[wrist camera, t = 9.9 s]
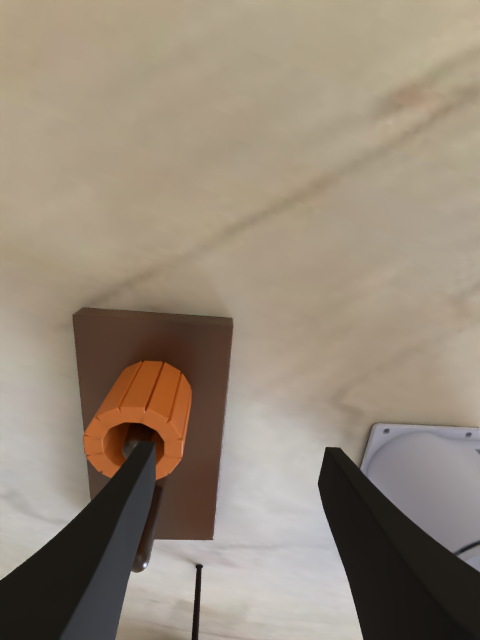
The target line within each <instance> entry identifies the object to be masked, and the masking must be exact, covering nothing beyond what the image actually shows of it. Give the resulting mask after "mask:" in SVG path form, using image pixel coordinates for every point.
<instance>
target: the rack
mask: <svg viewBox="0 0 480 640" xmlns="http://www.w3.org/2000/svg"><path fill="white" fill-rule="evenodd" d="M72 316H73V326H74V336H75V346H76V356H77V366H78V376H79V386H80V396H81V406H82V416H83V426H84V432H85V430H86V429H87V427H88V426H89V424H90V422H91V421H92V419H93V417H94V416H95V414H96V413H97V411H98V409H99V408H100V406H101V404H102V403H103V401H104V400H105V398H106V396H107V395H108V393H109V392H110V390H111V388H112V387H113V385H114V383H115V382H116V380H117V379H118V377H119V376H120V374H121V373H122V371H123V370H125V368H127V367H129V366H131V365H133V364H136V363H138V362H140V361H142V362H144V361H161V362H163V364H164V363H165V362H166V363H167V364H169V365H171V366H173V367H175V368H176V369H178V370H180V371H181V373H180V374H182V373H183V375H184V376H185V378H186V380H187V381H188V383H189V384H190V386H191V388H190V389H192V396H191V407H190V413H189V419H188V425H187V432H186V438H185V444H184V450H183V456H182V458H181V461H180V462H179V463H178V464H177V466H176V467H175V468H174V469H173V471H172V472H171V473H170V474H169V473H168V474H167V476H165V477H162V478H160V479H157V480H156V482H155V487H154V492H153V497H152V502H151V506H150V510H149V513H148V516H147V520H146V523H145V526H144V529H143V533H142V536H141V539H140V542H139V546H138V549H137V552H136V555H135V559H134V562H133V565H132V568H131V571H132V572H135V573H138V572H141V571H143V570H144V569H145V568H146V567H147V565H148V563H149V560H150V556H151V551H152V546H153V541H154V539H166V540H214V531H215V520H216V509H217V498H218V487H219V477H220V466H221V455H222V444H223V433H224V422H225V411H226V400H227V389H228V378H229V367H230V357H231V346H232V335H233V319H232V318H225V317H210V316H196V315H182V314H168V313H153V312H139V311H125V310H111V309H97V308H81V309H80V310H78V311H77V312H76V313H74V314H73V315H72ZM153 433H154V429H152V428H150V427H148V426H146V425H144V424H142V423H132V422H131V425H130V427H129V429H128V432H127V434H126V436H125V439H124V441H123V443H122V448H121V449H122V454H123V456H124V457H125V458H126V459H127V458H128V456H129V455H130V454H131V452H132V451H133V449H134V448H135V446H136V445H137V444H138V443H139V442H140V441H151V439H152V436H153ZM86 456H87V455H86ZM87 466H88V476H89V486H90V496H91V501H92V500H93V499H94V497H95V496H96V495H97V494H98V493H99V492H100V491H101V490H102V489H103V487H104V486H105V485H106V484H107V483H108V482H109V480H110V479H111V478H110V477H108V476H106V475H103V474H102V471H100V472H98V471H97V469H96V468H95V467H94V466H93V465H92V464H91V462H90V461H89V460H88V459H87Z"/></svg>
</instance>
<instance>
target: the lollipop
mask: <svg viewBox="0 0 480 640" xmlns="http://www.w3.org/2000/svg"><path fill="white" fill-rule="evenodd" d="M196 568H197V573H196V586H195V600H194V614H193V628H192V640H198V632H199V613H200V592H201V570H202V568H203V566H202V565H197V566H196Z"/></svg>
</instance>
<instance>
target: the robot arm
mask: <svg viewBox="0 0 480 640" xmlns="http://www.w3.org/2000/svg"><path fill="white" fill-rule="evenodd" d="M385 429H386V430H385ZM384 430H385V431H384ZM155 482H156V449H155V442H152V441H140V442H139V443H138V444H137V445H136V446H135V448H134V449H133V451H132V452H131V454H130V455H129V456H128V458H127V459H126V460H125V462H124V463H123V464H122V466H121V467H120V468H119V469H118V471H117V472H116V473H115V474H114V475H113V477H112V478H111V479H110V480H109V482H108V483H107V484H106V485H105V486H104V487H103V489H102V490H101V491H100V492H99V493H98V494H97V495H96V496H95V497H94V499H93V500H92V501H91V502H90V503H89V504H88V505H87V506H86V507H85V508H84V509H83V510H82V511H81V512H80V513H79V514H78V515H77V516H76V517H75V518H74V519H73V520H72V521H71V522H70V523H69V524H68V525H67V526H66V527H65V528H64V529H63V530H61V531H60V532H59V533H58V534H57V535H56V536H55V537H54V538H52V539H51V540H50V541H49V542H48V543H47V544H46V545H44V546H43V547H42V548H41V549H40V550H39V551H37V552H36V553H35V554H34V555H32V556H31V557H30V558H29V559H27V560H26V561H25V562H24V563H22V564H21V565H20V566H18V567H17V568H16V569H15V570H13V571H12V572H11V573H10V574H8V575H7V576H6V577H4V578H3V579H2V580H0V640H115V638H116V633H117V628H118V624H119V619H120V614H121V610H122V605H123V601H124V597H125V592H126V588H127V583H128V579H129V576H130V572H131V568H132V565H133V562H134V559H135V555H136V552H137V549H138V546H139V542H140V539H141V536H142V533H143V529H144V526H145V523H146V520H147V516H148V513H149V510H150V506H151V502H152V497H153V492H154V487H155ZM318 487H319V491H320V496H321V500H322V504H323V509H324V512H325V515H326V517H327V520H328V523H329V526H330V529H331V532H332V535H333V537H334V540H335V543H336V546H337V549H338V552H339V554H340V557H341V560H342V563H343V566H344V568H345V572H346V575H347V578H348V581H349V585H350V588H351V592H352V596H353V600H354V604H355V607H356V611H357V615H358V619H359V623H360V627H361V632H362V636H363V640H480V428H474V427H452V426H430V425H407V424H385V423H378V424H375V425H374V426H373V428H372V430H371V434H370V437H369V441H368V444H367V447H366V451H365V454H364V458H363V461H362V465H361V468H360V469H359V468H358V467H357V466H356V465H355V464H354V463H353V461H352V460H351V459H350V458H349V457H348V456H347V455H346V454H345V453H344V452H343V451H342V449H341V448H337V447H326V449H325V453H324V458H323V462H322V467H321V471H320V476H319V480H318Z"/></svg>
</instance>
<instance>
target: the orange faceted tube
mask: <svg viewBox="0 0 480 640" xmlns="http://www.w3.org/2000/svg"><path fill="white" fill-rule="evenodd" d="M180 373H181V371H180V370H178V369H176V368H175V367H173V366H171V365H169V364H167V363H166V362H165V363H164V364H163V362H161V361H144V362H142V361H140V362H138V363H136V364H133V365H131V366H129V367H127V368H125V370H123V371H122V373H121V374H120V376H119V377H118V379H117V380H116V382H115V383H114V385H113V387H112V388H111V390H110V392H109V393H108V395H107V396H106V398H105V400H104V401H103V403H102V404H101V406H100V408H99V409H98V411H97V413H96V414H95V416H94V417H93V419H92V421H91V422H90V424H89V426H88V427H87V429H86V430H85V432H84V436H83V441H84V450H85V454H86V455H87V456H86V458H87V459H88V460H89V461H90V462H91V464H92V465H93V466H94V467H95V468H96V469H97V471H98V472H100V471H102V474H103V475H106V476H108V477H110V478H112V477H113V475H114V474H115V473H116V472H117V471H118V469H119V468H120V467H121V466H122V464H123V463H124V462H125V460H126V458H125V457H124V456H123V454H122V449H121V448H122V443H123V441H124V439H125V436H126V434H127V432H128V429H129V427H130V425H131V422H132V423H142V424H144V425H146V426H148V427H150V428H152V429H154V433H153V436H152V439H151V441H152V442H155V449H156V480H157V479H160V478H162V477H165V476H167V474H168V473H169V474H170V473H171V472H172V471H173V469H174V468H175V467H176V466H177V464H178V463H179V462H180V461H181V458H182V456H183V450H184V444H185V438H186V432H187V425H188V419H189V413H190V407H191V396H192V389H190V388H191V386H190V384H189V383H188V381H187V380H186V378H185V376H184V375H183V373H182V374H180Z"/></svg>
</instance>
